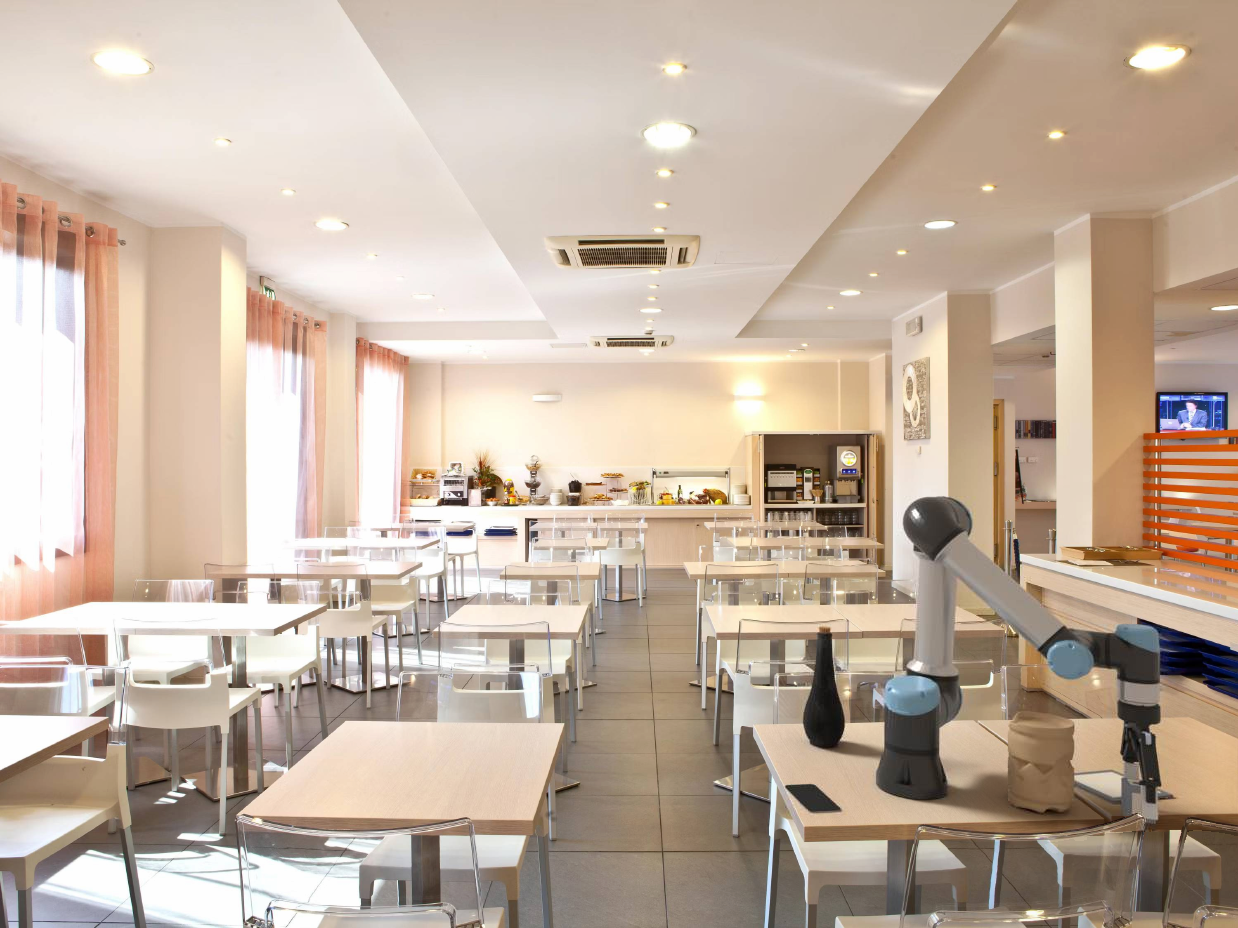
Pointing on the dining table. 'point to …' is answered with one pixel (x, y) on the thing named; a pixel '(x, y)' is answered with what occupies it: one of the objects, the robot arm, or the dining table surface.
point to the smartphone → (812, 798)
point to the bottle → (824, 698)
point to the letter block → (1131, 798)
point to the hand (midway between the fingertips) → (1140, 805)
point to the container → (1040, 762)
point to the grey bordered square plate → (1105, 785)
